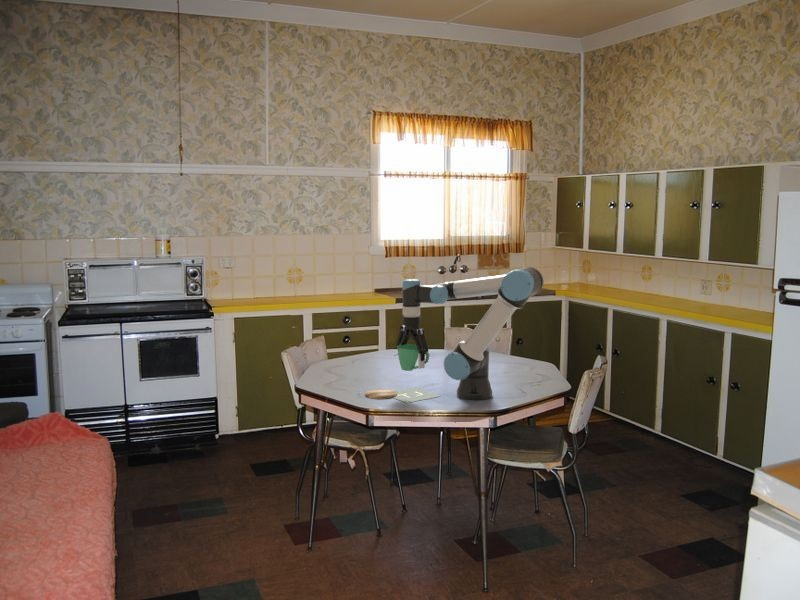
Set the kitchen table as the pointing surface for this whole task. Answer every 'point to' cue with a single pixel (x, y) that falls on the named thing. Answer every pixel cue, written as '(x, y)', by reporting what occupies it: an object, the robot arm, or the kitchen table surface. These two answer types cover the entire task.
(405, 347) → the mug
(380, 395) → the coaster
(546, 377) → the kitchen table surface
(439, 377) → the kitchen table surface
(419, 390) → the tile
